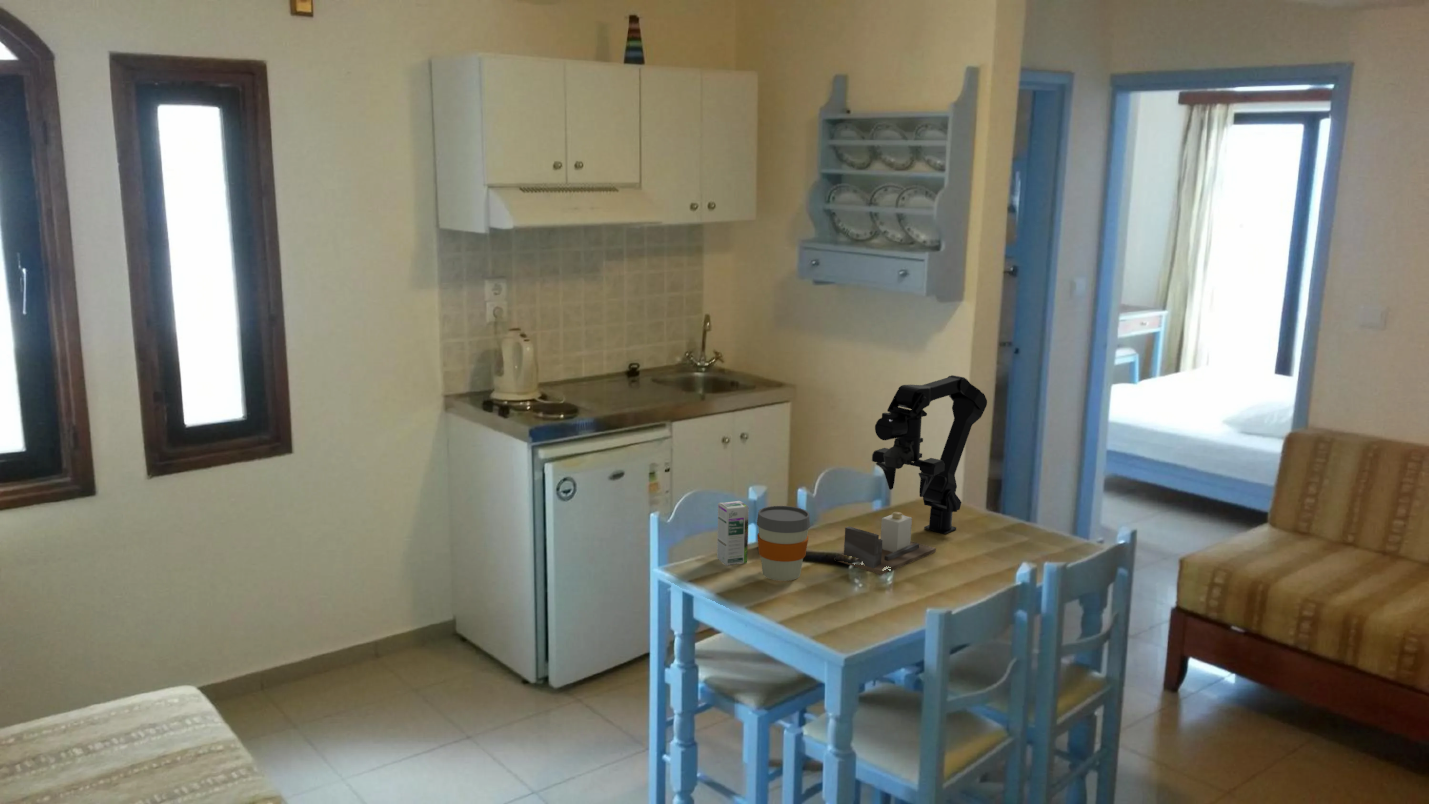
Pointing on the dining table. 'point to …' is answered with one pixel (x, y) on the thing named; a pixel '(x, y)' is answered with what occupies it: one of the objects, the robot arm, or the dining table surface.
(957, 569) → the dining table surface
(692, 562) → the dining table surface
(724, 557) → the syrup box
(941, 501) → the robot arm
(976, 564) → the dining table surface
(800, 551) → the reusable coffee cup
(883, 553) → the brown board with frame
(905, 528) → the white block with knob
